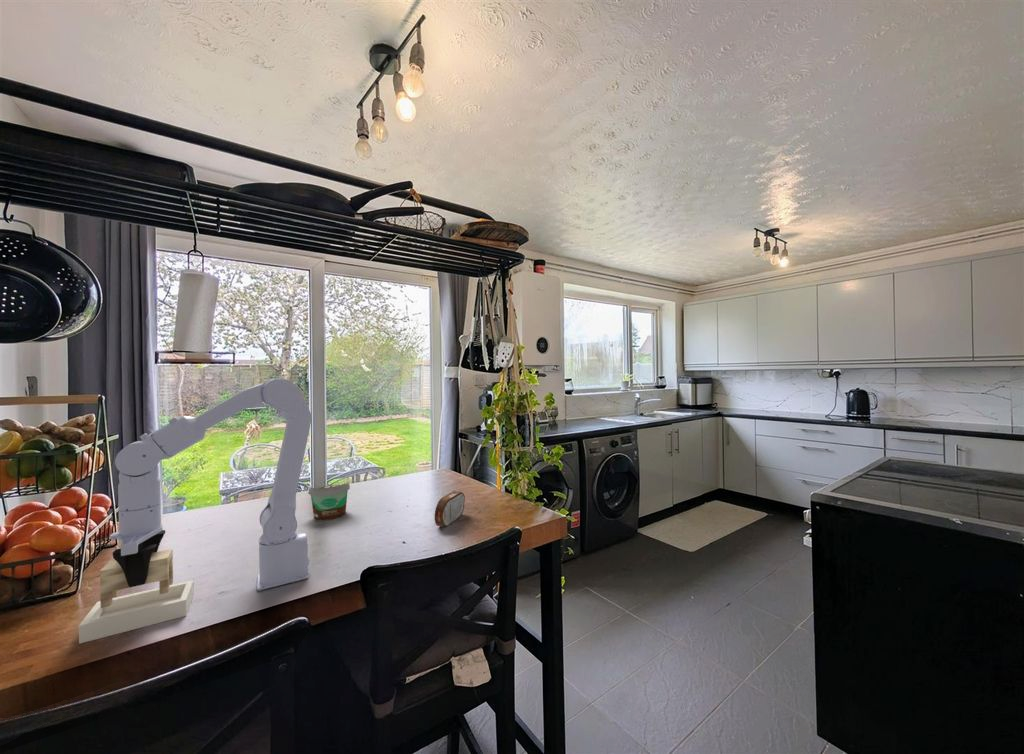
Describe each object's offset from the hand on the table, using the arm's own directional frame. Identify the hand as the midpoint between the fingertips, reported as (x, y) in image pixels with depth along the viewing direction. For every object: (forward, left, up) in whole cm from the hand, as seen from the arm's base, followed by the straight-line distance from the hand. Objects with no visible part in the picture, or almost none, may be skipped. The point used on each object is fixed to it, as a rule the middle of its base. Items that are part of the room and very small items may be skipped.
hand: (141, 579), depth 73 cm
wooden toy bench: (0, 0, -3) cm, 3 cm away
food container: (-37, -37, -7) cm, 53 cm away
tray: (0, 0, -7) cm, 7 cm away
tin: (-67, -12, -7) cm, 68 cm away
